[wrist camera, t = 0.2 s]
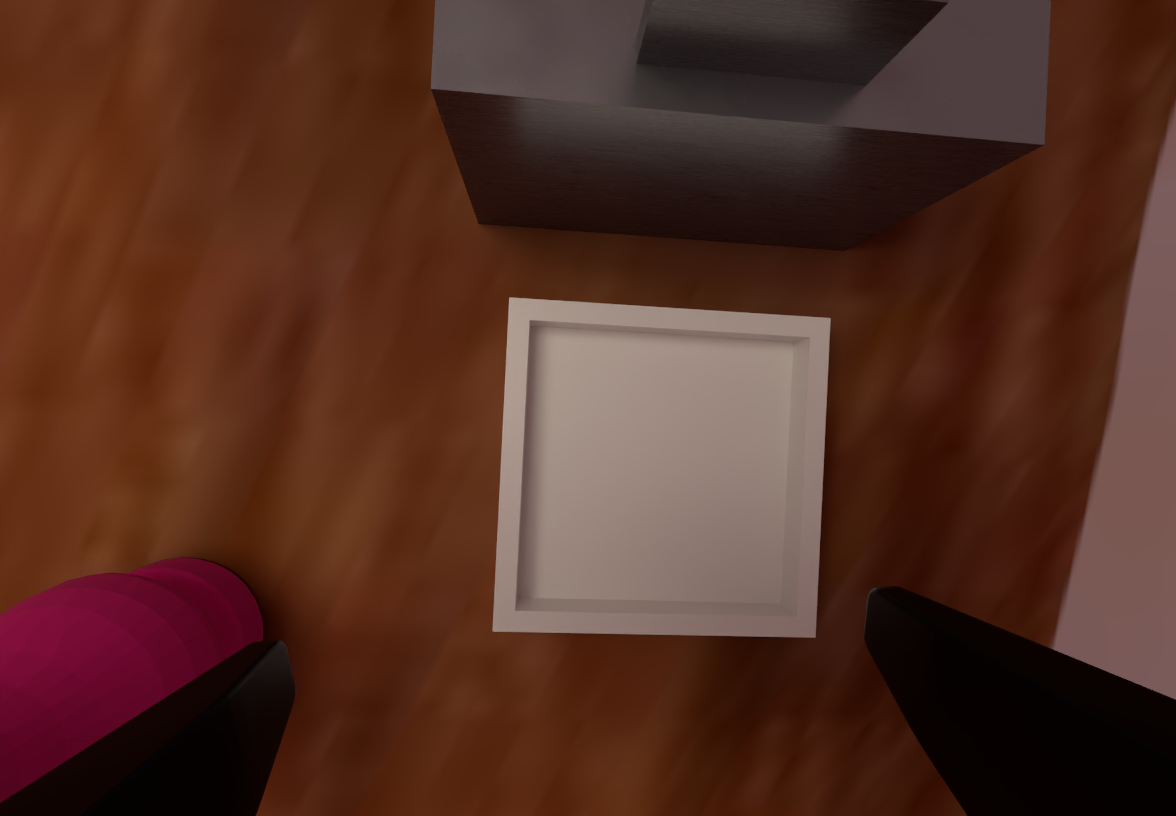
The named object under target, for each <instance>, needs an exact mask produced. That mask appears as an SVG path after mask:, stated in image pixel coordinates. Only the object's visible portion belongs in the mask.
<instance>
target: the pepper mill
mask: <svg viewBox="0 0 1176 816" xmlns="http://www.w3.org/2000/svg"><path fill="white" fill-rule="evenodd" d="M256 641H263V620H262V616H261V613H260V610H259V607H258V604H257V601H256V600H255V598H254V596H253V595H252V593H251V592H250V590H249V589H248V587H247V586H246V585H245V584H244V583H243V582H242V581H241V580H240V579H239V578H238V577H237V576H236V575H234V574H233V573H232V572H231V571H229V570H227V569H225V568H223V567H221V566H219V565H217V564H215V563H212V562H208V561H205V560H201V559H194V558H175V559H167V560H162V561H159V562H155V563H152V564H149V565H147V566H144V567H142V568H139V569H137V570H134V571H132V572H129V573H127V574H123V573H105V574H94V575H89V576H85V577H81V578H77V579H73V580H69V581H66V582H64V583H62V584H59V585H57V586H54V587H52V588H50V589H48V590H45V591H43V592H41V593H39V594H37V595H34V596H32V597H30V598H28V599H26V600H23V601H21V602H19V603H18V604H16V605H15V606H13V607H12V608H10V609H9V610H7V611H6V612H4V613H3V614H1V615H0V802H2V801H4V800H5V799H7V798H8V797H10V796H11V795H13V794H15V793H16V792H18V791H19V790H21V789H22V788H24V787H26V786H27V785H29V784H30V783H32V782H33V781H35V780H37V779H38V778H40V777H41V776H43V775H44V774H46V773H48V772H49V771H51V770H52V769H54V768H55V767H57V766H59V765H60V764H62V763H63V762H65V761H66V760H68V759H69V758H71V757H73V756H74V755H76V754H77V753H79V752H80V751H82V750H84V749H85V748H87V747H88V746H90V745H91V744H93V743H95V742H96V741H98V740H99V739H101V738H102V737H104V736H106V735H107V734H109V733H110V732H112V731H113V730H115V729H117V728H118V727H120V726H121V725H123V724H124V723H126V722H128V721H129V720H131V719H132V718H134V717H135V716H137V715H139V714H140V713H142V712H143V711H145V710H146V709H148V708H150V707H151V706H153V705H154V704H156V703H157V702H159V701H161V700H162V699H164V698H165V697H167V696H168V695H170V694H172V693H173V692H175V691H176V690H178V689H179V688H181V687H183V686H184V685H186V684H187V683H189V682H190V681H192V680H194V679H195V678H197V677H198V676H200V675H201V674H203V673H204V672H206V671H208V670H209V669H211V668H212V667H214V666H215V665H217V664H219V663H220V662H222V661H223V660H225V659H226V658H228V657H230V656H231V655H233V654H234V653H236V652H237V651H239V650H241V649H242V648H244V647H245V646H247V645H248V644H250V643H252V642H256Z"/></svg>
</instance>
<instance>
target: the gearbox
mask: <svg viewBox="0 0 1176 816" xmlns="http://www.w3.org/2000/svg"><path fill="white" fill-rule="evenodd" d="M1050 7H1051V0H435V18H434V38H433V57H432V77H431V90H432V93H433V96H434V99H435V102H436V104H437V107H438V110H439V113H440V116H441V119H442V121H443V124H444V127H445V130H446V133H447V136H448V138H449V141H450V144H451V147H452V150H453V153H454V155H455V158H456V161H457V164H458V167H459V170H460V172H461V175H462V178H463V181H464V184H465V187H466V189H467V192H468V195H469V198H470V201H471V204H472V206H473V209H474V212H475V215H476V218H477V221H478V223H481V224H494V225H508V226H521V227H535V228H548V229H562V230H575V231H589V232H602V233H616V234H629V235H643V236H656V237H670V238H683V239H697V240H710V241H724V242H737V243H751V244H764V245H778V246H791V247H805V248H818V249H832V250H846V249H848V248H850V247H852V246H854V245H856V244H858V243H860V242H861V241H863V240H865V239H867V238H869V237H871V236H873V235H875V234H877V233H878V232H880V231H882V230H884V229H886V228H888V227H890V226H892V225H894V224H896V223H897V222H899V221H901V220H903V219H905V218H907V217H909V216H911V215H913V214H914V213H916V212H918V211H920V210H922V209H924V208H926V207H928V206H930V205H931V204H933V203H935V202H937V201H939V200H941V199H943V198H945V197H947V196H949V195H950V194H952V193H954V192H956V191H958V190H960V189H962V188H964V187H966V186H967V185H969V184H971V183H973V182H975V181H977V180H979V179H981V178H983V177H984V176H986V175H988V174H990V173H992V172H994V171H996V170H998V169H1000V168H1002V167H1003V166H1005V165H1007V164H1009V163H1011V162H1013V161H1015V160H1017V159H1019V158H1020V157H1022V156H1024V155H1026V154H1028V153H1030V152H1032V151H1034V150H1036V149H1037V148H1039V147H1041V146H1043V145H1044V142H1045V119H1046V97H1047V75H1048V52H1049V30H1050Z"/></svg>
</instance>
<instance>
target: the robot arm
mask: <svg viewBox="0 0 1176 816" xmlns="http://www.w3.org/2000/svg"><path fill="white" fill-rule="evenodd" d="M864 639H865V643H866V646H867V649H868V651H869V653H870V654H871V656H872V658H873V660H874V662H875V664H876V665H877V667H878V669H879V671H880V673H881V675H882V677H883V678H884V680H885V682H886V684H887V686H888V688H889V689H890V691H891V693H892V695H893V697H894V699H895V700H896V702H897V704H898V706H899V708H900V710H901V712H902V713H903V715H904V717H905V719H906V721H907V723H908V724H909V726H910V728H911V730H912V731H913V733H914V735H915V736H916V738H917V740H918V742H919V743H920V745H921V746H922V748H923V749H924V751H925V753H926V754H927V756H928V757H929V759H930V760H931V762H932V763H933V765H934V766H935V768H936V769H937V771H938V772H939V774H940V775H941V777H942V778H943V780H944V781H945V783H946V784H947V786H948V787H949V789H950V790H951V792H952V793H953V795H954V796H955V798H956V799H957V801H958V802H959V804H960V805H961V807H962V808H963V810H964V811H965V813H966V814H967V816H1176V700H1175V699H1173V698H1170V697H1168V696H1165V695H1163V694H1160V693H1158V692H1156V691H1153V690H1151V689H1148V688H1146V687H1143V686H1141V685H1139V684H1136V683H1134V682H1131V681H1129V680H1126V679H1124V678H1121V677H1119V676H1116V675H1114V674H1111V673H1109V672H1107V671H1104V670H1102V669H1099V668H1097V667H1094V666H1092V665H1089V664H1087V663H1085V662H1082V661H1080V660H1077V659H1075V658H1072V657H1070V656H1067V655H1065V654H1062V653H1060V652H1058V651H1055V650H1053V649H1050V648H1048V647H1045V646H1043V645H1040V644H1038V643H1036V642H1033V641H1031V640H1028V639H1026V638H1023V637H1021V636H1018V635H1016V634H1014V633H1011V632H1009V631H1006V630H1004V629H1001V628H999V627H996V626H994V625H991V624H989V623H987V622H984V621H982V620H979V619H977V618H974V617H972V616H969V615H967V614H965V613H962V612H960V611H957V610H955V609H952V608H950V607H947V606H945V605H942V604H940V603H938V602H935V601H933V600H930V599H928V598H925V597H923V596H920V595H918V594H915V593H913V592H911V591H908V590H906V589H903V588H901V587H897V586H891V587H880V588H873V589H872V590H871V591H870V592H869V594H868V598H867V607H866V617H865V626H864ZM294 697H295V684H294V679H293V674H292V669H291V664H290V660H289V655H288V650H287V647H286V645H285V643H284V642H283V641H281V640H267V641H256V642H252V643H250V644H248V645H247V646H245V647H244V648H242V649H241V650H239V651H237V652H236V653H234V654H233V655H231V656H230V657H228V658H226V659H225V660H223V661H222V662H220V663H219V664H217V665H215V666H214V667H212V668H211V669H209V670H208V671H206V672H204V673H203V674H201V675H200V676H198V677H197V678H195V679H194V680H192V681H190V682H189V683H187V684H186V685H184V686H183V687H181V688H179V689H178V690H176V691H175V692H173V693H172V694H170V695H168V696H167V697H165V698H164V699H162V700H161V701H159V702H157V703H156V704H154V705H153V706H151V707H150V708H148V709H146V710H145V711H143V712H142V713H140V714H139V715H137V716H135V717H134V718H132V719H131V720H129V721H128V722H126V723H124V724H123V725H121V726H120V727H118V728H117V729H115V730H113V731H112V732H110V733H109V734H107V735H106V736H104V737H102V738H101V739H99V740H98V741H96V742H95V743H93V744H91V745H90V746H88V747H87V748H85V749H84V750H82V751H80V752H79V753H77V754H76V755H74V756H73V757H71V758H69V759H68V760H66V761H65V762H63V763H62V764H60V765H59V766H57V767H55V768H54V769H52V770H51V771H49V772H48V773H46V774H44V775H43V776H41V777H40V778H38V779H37V780H35V781H33V782H32V783H30V784H29V785H27V786H26V787H24V788H22V789H21V790H19V791H18V792H16V793H15V794H13V795H11V796H10V797H8V798H7V799H5V800H4V801H2V802H0V816H256V814H257V811H258V808H259V805H260V803H261V800H262V797H263V794H264V791H265V788H266V785H267V782H268V779H269V776H270V773H271V770H272V767H273V764H274V761H275V758H276V755H277V752H278V749H279V746H280V743H281V739H282V736H283V733H284V730H285V727H286V724H287V721H288V718H289V715H290V712H291V709H292V706H293V702H294Z"/></svg>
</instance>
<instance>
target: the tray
mask: <svg viewBox="0 0 1176 816" xmlns="http://www.w3.org/2000/svg"><path fill="white" fill-rule="evenodd" d="M830 319H831V318H820V317H805V316H789V315H774V314H758V313H742V312H727V311H711V310H696V309H680V308H665V307H649V306H634V305H618V304H603V303H587V302H571V301H556V300H540V299H525V298H509V315H508V335H507V354H506V374H505V394H504V414H503V434H502V454H501V474H500V494H499V514H498V534H497V554H496V573H495V593H494V613H493V632H545V633H598V634H651V635H704V636H757V637H810V638H816V617H817V596H818V575H819V553H820V532H821V511H822V489H823V468H824V447H825V425H826V404H827V383H828V361H829V340H830Z"/></svg>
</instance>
